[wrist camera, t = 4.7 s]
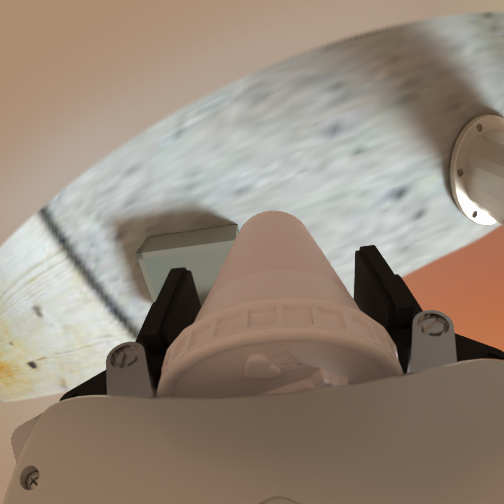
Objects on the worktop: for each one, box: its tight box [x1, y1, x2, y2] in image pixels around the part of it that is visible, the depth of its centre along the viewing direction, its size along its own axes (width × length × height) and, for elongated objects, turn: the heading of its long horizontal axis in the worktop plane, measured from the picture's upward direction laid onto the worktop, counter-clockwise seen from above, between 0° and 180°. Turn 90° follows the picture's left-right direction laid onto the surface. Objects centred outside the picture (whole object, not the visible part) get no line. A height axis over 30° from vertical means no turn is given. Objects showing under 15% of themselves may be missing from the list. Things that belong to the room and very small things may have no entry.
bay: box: [136, 224, 239, 307], centre depth 30 cm, size 9×9×4 cm
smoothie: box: [157, 211, 404, 397], centre depth 9 cm, size 6×6×14 cm
